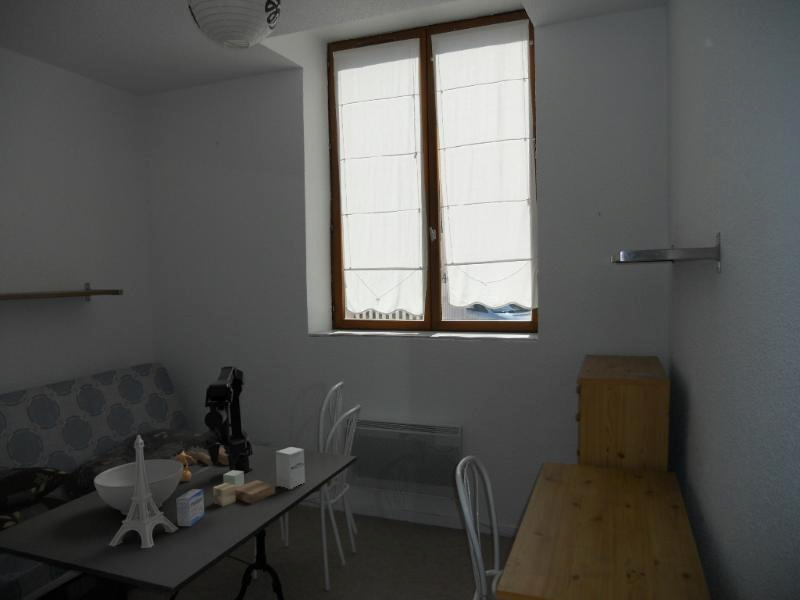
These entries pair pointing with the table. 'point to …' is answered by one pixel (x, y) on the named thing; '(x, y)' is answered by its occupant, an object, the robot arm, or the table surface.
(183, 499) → the medicine box
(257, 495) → the walnut block
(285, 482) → the supplement box
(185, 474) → the figurine
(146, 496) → the eiffel tower
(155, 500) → the decorative bowl
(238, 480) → the sage cube
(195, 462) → the wooden block set
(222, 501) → the oak block
